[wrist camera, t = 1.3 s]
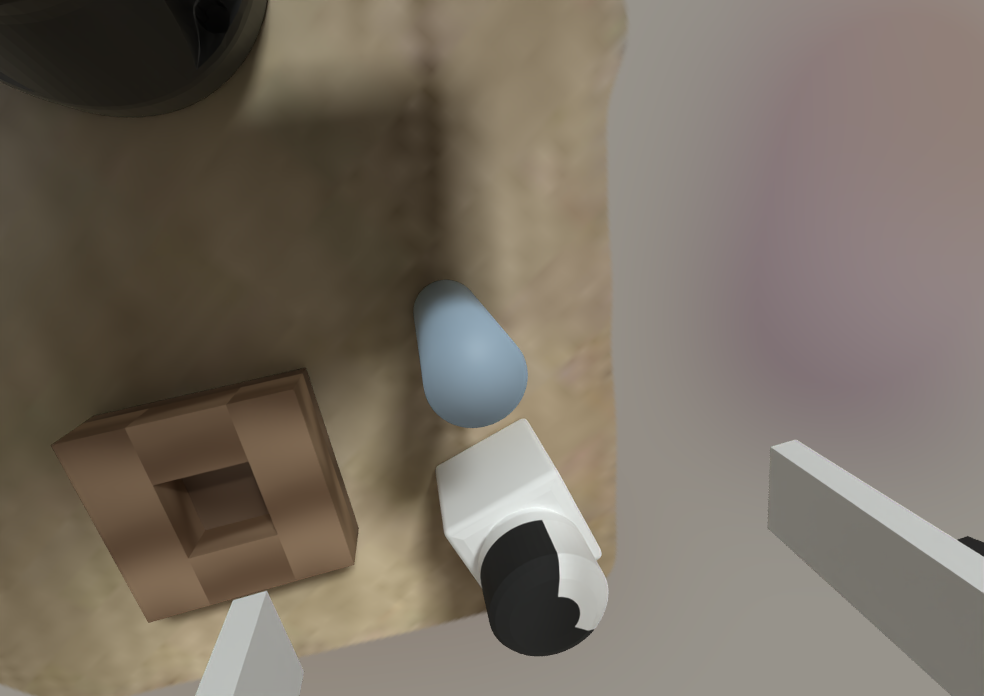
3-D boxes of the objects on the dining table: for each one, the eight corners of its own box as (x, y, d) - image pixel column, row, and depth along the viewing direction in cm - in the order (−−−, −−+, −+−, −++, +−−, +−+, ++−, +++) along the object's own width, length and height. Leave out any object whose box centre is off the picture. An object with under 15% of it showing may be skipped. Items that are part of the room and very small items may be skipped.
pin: (406, 287, 28) (412, 342, 17) (471, 273, 29) (518, 318, 17) (421, 349, 29) (435, 438, 18) (483, 335, 30) (534, 413, 19)
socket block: (93, 415, 27) (50, 445, 24) (305, 367, 28) (293, 389, 25) (175, 578, 31) (148, 622, 27) (358, 528, 32) (354, 564, 29)
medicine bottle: (480, 537, 34) (521, 700, 23) (433, 466, 32) (451, 608, 21) (565, 489, 35) (646, 627, 23) (524, 414, 32) (592, 527, 21)
